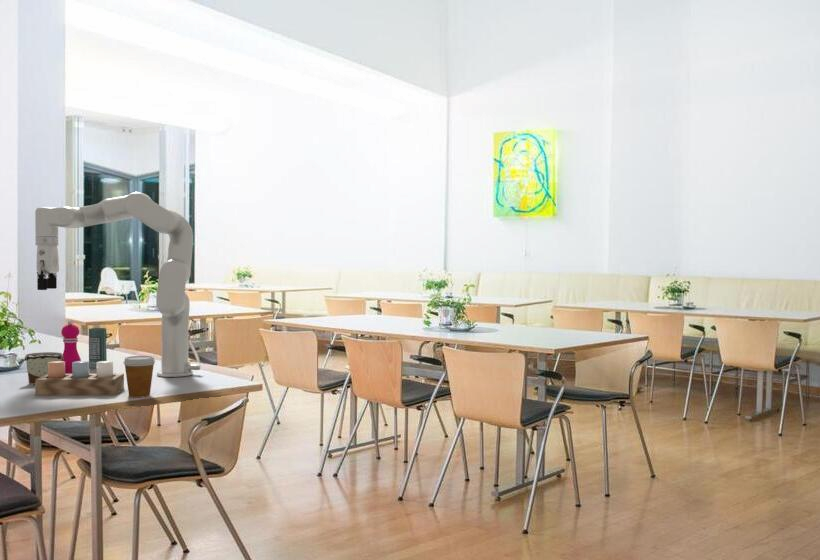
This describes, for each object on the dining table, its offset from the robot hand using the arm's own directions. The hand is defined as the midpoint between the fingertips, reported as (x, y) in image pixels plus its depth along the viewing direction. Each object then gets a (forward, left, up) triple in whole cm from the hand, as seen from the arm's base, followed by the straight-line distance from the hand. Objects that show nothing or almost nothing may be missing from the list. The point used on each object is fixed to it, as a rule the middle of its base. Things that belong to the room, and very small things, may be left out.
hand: (47, 289), depth 297 cm
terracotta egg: (-15, +35, -28) cm, 47 cm away
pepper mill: (-8, 0, -31) cm, 32 cm away
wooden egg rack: (-22, +35, -31) cm, 52 cm away
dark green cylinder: (-12, -20, -31) cm, 39 cm away
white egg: (-30, +35, -28) cm, 54 cm away
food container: (-4, +15, -31) cm, 35 cm away
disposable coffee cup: (-42, +42, -31) cm, 67 cm away
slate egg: (-22, +35, -28) cm, 50 cm away
